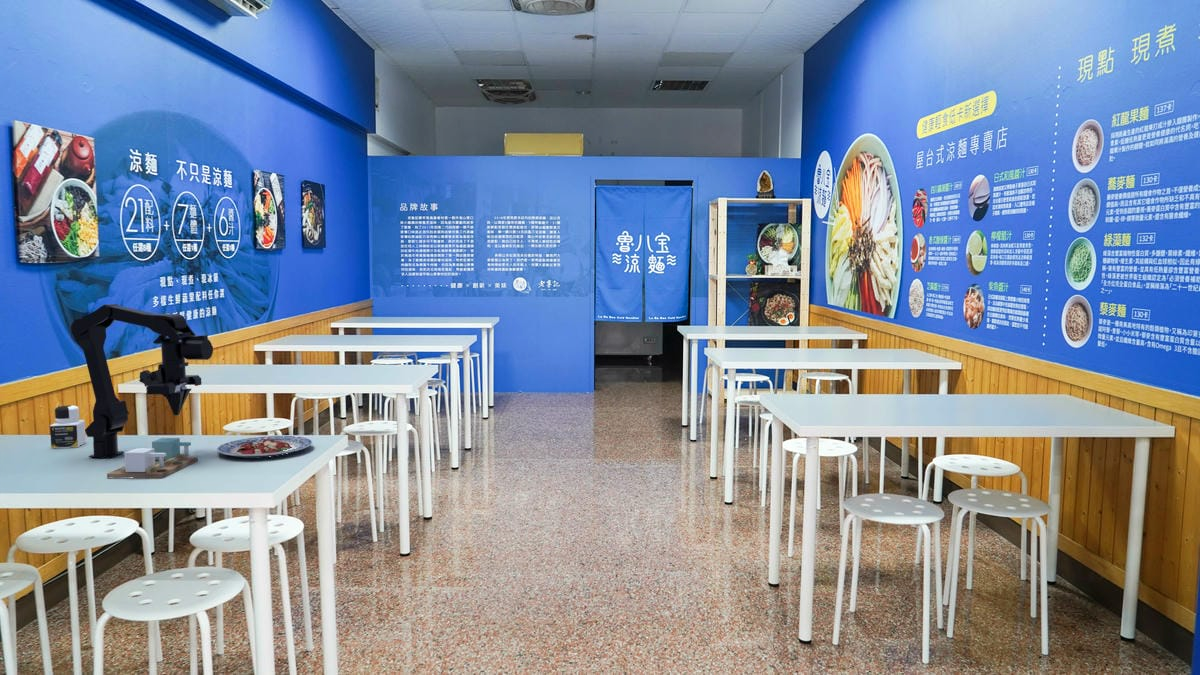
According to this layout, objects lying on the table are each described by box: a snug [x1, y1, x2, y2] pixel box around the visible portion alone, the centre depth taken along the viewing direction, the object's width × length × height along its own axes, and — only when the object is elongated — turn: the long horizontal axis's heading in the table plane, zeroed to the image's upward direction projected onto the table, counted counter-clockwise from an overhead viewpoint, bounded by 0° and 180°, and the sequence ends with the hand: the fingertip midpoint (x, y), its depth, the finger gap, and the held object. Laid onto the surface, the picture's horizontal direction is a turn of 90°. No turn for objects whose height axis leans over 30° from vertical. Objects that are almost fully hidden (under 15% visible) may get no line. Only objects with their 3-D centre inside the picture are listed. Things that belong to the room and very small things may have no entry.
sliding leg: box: [151, 437, 192, 460], centre depth 232 cm, size 5×9×5 cm, turn 89°
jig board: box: [106, 452, 199, 479], centre depth 226 cm, size 19×14×2 cm
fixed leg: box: [124, 447, 166, 472], centre depth 220 cm, size 5×9×5 cm, turn 89°
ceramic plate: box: [216, 435, 313, 459], centre depth 247 cm, size 26×26×3 cm
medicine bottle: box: [49, 404, 87, 449], centre depth 255 cm, size 7×7×12 cm
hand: (176, 415), depth 238 cm, fingers closed
